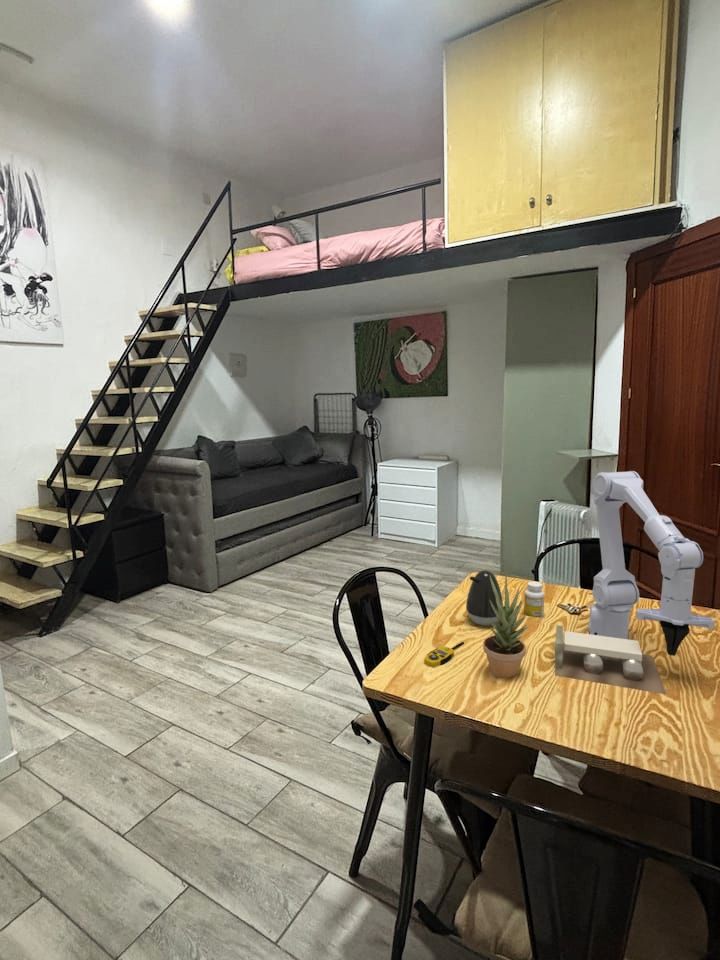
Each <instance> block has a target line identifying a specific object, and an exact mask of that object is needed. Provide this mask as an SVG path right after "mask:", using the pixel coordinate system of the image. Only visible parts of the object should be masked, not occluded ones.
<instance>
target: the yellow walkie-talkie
mask: <svg viewBox="0 0 720 960" xmlns="http://www.w3.org/2000/svg"><path fill="white" fill-rule="evenodd" d="M464 643H465V642H464V641H461V642H460V643H458V644H456V645H455V646H453V647H448V646H443V647H440V648H435V649H433V650H431V651H430V652H429V653H427V654H426V656H425V657H424V659H423V660H424V661H423V664H424V665H425V666H428V667H430V668H436V667H440V666H442V665H445V664H447V663H449V662H450V661H451V660H452V659H453V657H454V656H455V650H456V649H457V648H459V647H461V646H462V645H464Z"/></svg>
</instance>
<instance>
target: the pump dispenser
mask: <svg viewBox="0 0 720 960" xmlns="http://www.w3.org/2000/svg"><path fill="white" fill-rule="evenodd" d="M490 576H491V578H492V581H493V583H494V585H495V588H496V590H497V592H498V595H499V597H500V599H501V602H502V603H503V604H504V602H503V595H502V594H503V593H502V591H501V588H500V584H499V582H498V580H497V577H496V576H495V575H494V573H493V572H492V571H489V570H486V569H483V570H480V571H478V572H477V574H475V576H470V577H469V580H470V581H471V584H470V587H469V590H468V594H467V597H466V603H465V604H466V606H465V609H466V611H467V614H468V615H467V616H468V617H469V619H470V620H471V621H472V622H473V623H475V624H476V625H479V626H483V627H484V626H485V627H488V626H492V624H491V623H490V621H489V617H490V619H491V620H492V621H493V622H495V621H497V622H498V623H499V620H498V618H497V616H496V614H495V612H494V610H493V608H492V606H491V603H490V600H491V602H492V604H493V605H494V607H495V608H496V609H497V610H498V606H497V602H496V597H495V594H494V591H493V588H492V585H491V581H490ZM498 611H499V610H498ZM495 623H496V622H495Z"/></svg>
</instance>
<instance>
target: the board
mask: <svg viewBox="0 0 720 960" xmlns="http://www.w3.org/2000/svg"><path fill="white" fill-rule="evenodd" d="M555 629H556V630H555V643H554V646H555V647H554V648H555V649H554V651H555V652H554V676H556V677H563V678H567V679H574V680H580V681H586V682H590V683H591V682H592V683H597V684H603V685H609V686H615V687H621V688H628V689H632V690H638V691H645V692H650V693H656V694H662V695H667V693H666V690H665V686H664V685H663V682H662V679H661V676H660V673H659V670H658V667H657V665H656V661H655V659H654V656H653V655H651V654H645V653H642V661H641V665H642V668H643V672H644V674H643V677H642V678H641V679H639V680H630V679H628V678H627V677H626V676H625V675H624V672H623V668H622V664H621V659H620V658H616V657H609V656H602V661H603V670H602V671H601V672H600V673H597V674H594V673H590V672H588V671H587V670H586V669H585V667H584V660H583V653H581V652H574V651H567V650H564V626H563V625H559V624H557V625H556V627H555Z"/></svg>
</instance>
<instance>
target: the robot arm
mask: <svg viewBox="0 0 720 960" xmlns="http://www.w3.org/2000/svg"><path fill="white" fill-rule="evenodd" d="M591 484H592V485H591V486H592V494H593V495H592V496H593V503H594V505H595V507H596V509H595V510H596V518H597V526H598V527H597V528H598V536H599V537H598V538H599V546H600V547H599V548H600V556H601V565H602V570H601V571H599V572H598V573H597V574H596V575H595V576H593V587H592V597H593V600H594V602H595V603H590V608H589V621H588V625H587V626H588V628H587V629H588V631H589V634H590V635H598V636H606V637H613V638H621V639H628V640H629V631H630V630H629V627H630V617H631V616H630V615H631V609H634V605H636V604H637V603H638V602H639V600H640V590H639V588H638V585H637V582H636V577H635V575H633V574H632V573H631V572H629V571H628V570H627V569H626V563H625V554H624V553H625V552H624V546H623V536H622V535H623V534H622V526H621V518H620V516H621V515H620V508H621V507H622V506H623V504H625V503H627V504H628V505H629V506H630V507H631V508H632V509H633V511H634V512H635V513H636V514H637V515H638V516H639V517H640V519H642V521H643V522H644V526H643V530H644V532H645V534H646V535H647V536H648V538H649V539H650V541H651V542H652V543H653V544H654V546H655V547H656V549H658V551H659V552H657V557H658V561H659V563H660V566H661V567H660V572H661V574H662V582H661V583H662V585H661V586H662V587H661V593H660V595H661V596H660V607H659V608H637V609H636V619H637V620H638V621H644V620H646V621H652V622H653V621H654V622H659V624H660V626H661V630H662V634H663V635H664V640H665V647H666V653H667V655H668V656H674V657H675V656H676V654H677V652H678V649H679V647H680V645H681V644H682V643H683V641H684V640H685V638H686V637H687V636H688V635H689V634H690V627H689V626H692V627H693V626H694V627H699V628H700V627H701V628H706V629H708V630H715V620H714V618H713V617H711V616H710V617H709V616H703V615H699V614H695V613H692V611H691V610H692V604H693V603H692V602H693V592H694V585H695V583H694V581H695V576H696V575H695V574H696V573H695V572H696V569H698V568H700V567H701V566H702V565H703V561H704V552H703V550H702V549H701V547H700V544H699V543H697V542H696V541H692V540H690V539H689V538H686V537H685V536H684V535H683V534H682V533H681V532H680V530H679V529H678V528H677V527H676V525H675V524H674V523H673V520H672V518H670V517H668V516H667V515H662V514H661V515H660V513H659V512H658V511H657V509H656V508H655V506H654V505H653V503H652V501H651V499H650V498H649V497H648V495H647V494H646V492H645V491H644V480H643V479H642V478H641V476H640V475H639V473H638V472H636V471H634V470H629V471H616V472H615V471H612V472H611V471H610V472H604V471H602V472H598V473H597V474H596V475H595V477H594V479H593V480H592V482H591ZM595 633H596V634H595Z"/></svg>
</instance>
